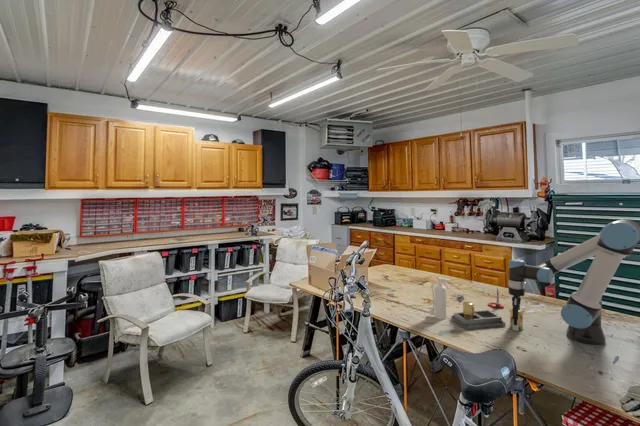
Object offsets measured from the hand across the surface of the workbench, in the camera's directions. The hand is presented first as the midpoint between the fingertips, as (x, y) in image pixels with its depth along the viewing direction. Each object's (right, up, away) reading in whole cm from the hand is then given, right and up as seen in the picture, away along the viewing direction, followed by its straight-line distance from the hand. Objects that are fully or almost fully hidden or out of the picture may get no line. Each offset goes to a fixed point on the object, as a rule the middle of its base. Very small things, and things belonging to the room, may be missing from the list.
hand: (516, 327), depth 171 cm
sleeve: (0, 0, 0) cm, 0 cm away
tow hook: (+7, +2, +33) cm, 34 cm away
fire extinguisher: (-36, -1, +18) cm, 40 cm away
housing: (-17, 0, +9) cm, 19 cm away
